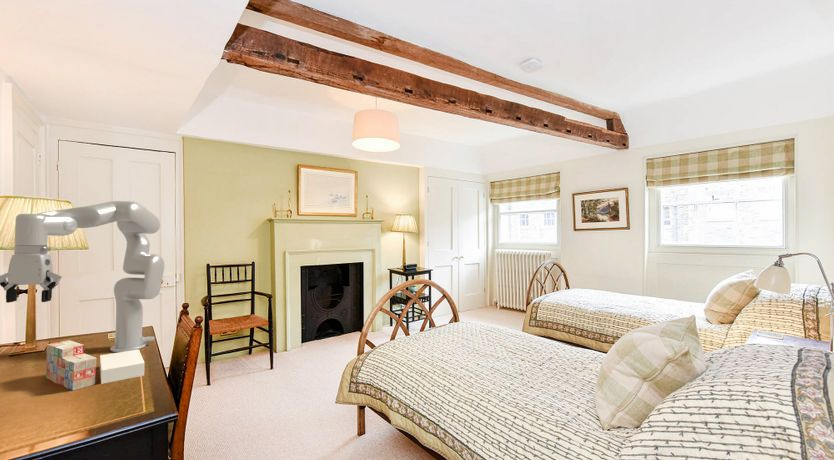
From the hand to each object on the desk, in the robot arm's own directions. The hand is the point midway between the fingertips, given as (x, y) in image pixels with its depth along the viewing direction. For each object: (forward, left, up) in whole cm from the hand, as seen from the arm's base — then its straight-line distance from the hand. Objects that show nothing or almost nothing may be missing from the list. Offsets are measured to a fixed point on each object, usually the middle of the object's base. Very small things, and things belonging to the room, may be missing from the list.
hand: (29, 301), depth 121 cm
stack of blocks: (-11, +2, -29) cm, 31 cm away
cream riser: (-25, +2, -29) cm, 38 cm away
